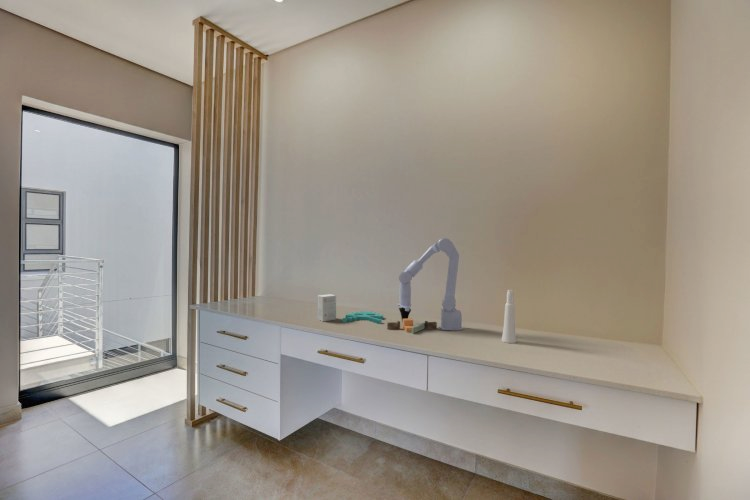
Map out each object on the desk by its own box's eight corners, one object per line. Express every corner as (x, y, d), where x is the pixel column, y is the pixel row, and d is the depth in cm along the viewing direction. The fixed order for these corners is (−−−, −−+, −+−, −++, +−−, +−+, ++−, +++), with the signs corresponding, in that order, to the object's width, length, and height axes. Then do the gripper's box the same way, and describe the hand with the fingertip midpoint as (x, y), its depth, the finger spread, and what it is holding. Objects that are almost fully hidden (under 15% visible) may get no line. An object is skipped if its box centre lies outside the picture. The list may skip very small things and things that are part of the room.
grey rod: (423, 327, 170) (423, 322, 170) (426, 328, 169) (426, 323, 169) (411, 332, 161) (411, 327, 161) (414, 333, 160) (414, 328, 160)
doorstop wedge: (411, 327, 172) (411, 318, 172) (415, 332, 164) (415, 322, 164) (402, 327, 171) (402, 318, 171) (406, 332, 163) (406, 322, 163)
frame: (435, 327, 171) (436, 320, 171) (436, 329, 169) (437, 321, 169) (387, 328, 169) (387, 321, 169) (387, 329, 167) (387, 322, 167)
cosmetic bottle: (513, 344, 146) (514, 291, 146) (499, 341, 150) (500, 290, 150) (518, 341, 151) (520, 290, 150) (504, 338, 155) (506, 288, 154)
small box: (330, 317, 191) (330, 293, 190) (336, 319, 186) (336, 295, 185) (316, 319, 186) (317, 295, 185) (322, 321, 181) (322, 296, 180)
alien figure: (381, 324, 179) (383, 315, 198) (381, 320, 178) (383, 312, 198) (342, 323, 180) (349, 314, 200) (342, 318, 180) (349, 310, 200)
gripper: (395, 293, 182) (394, 319, 182) (399, 298, 167) (398, 326, 168) (408, 293, 183) (407, 319, 183) (414, 298, 168) (413, 326, 169)
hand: (404, 322), depth 176 cm, fingers closed
